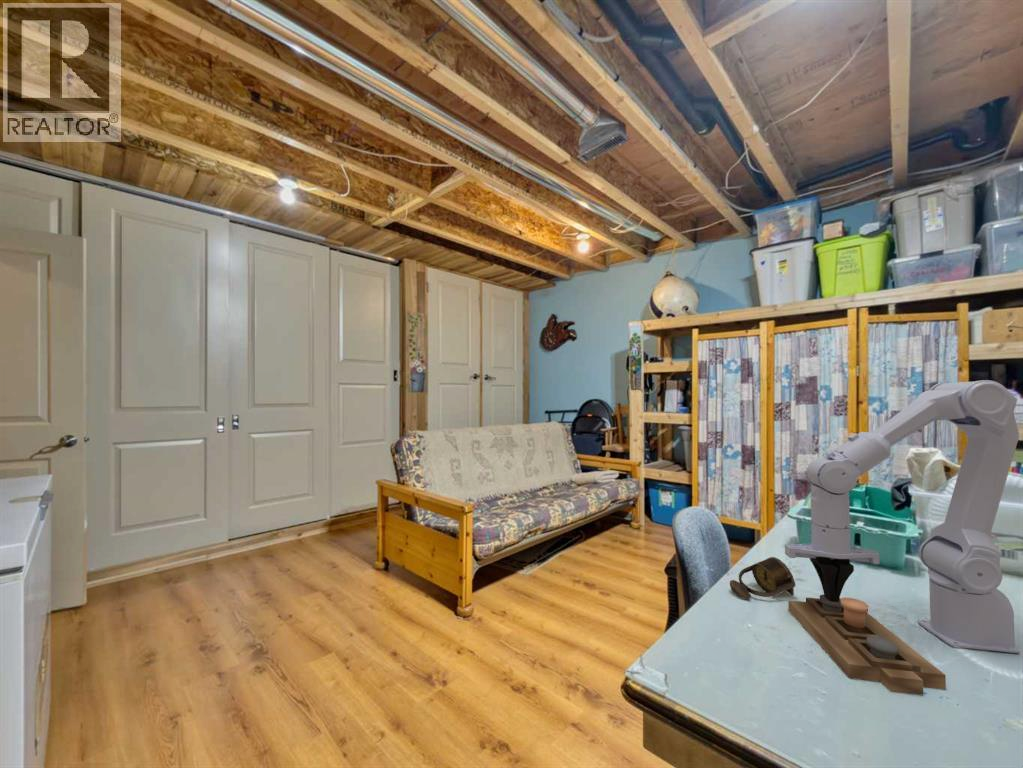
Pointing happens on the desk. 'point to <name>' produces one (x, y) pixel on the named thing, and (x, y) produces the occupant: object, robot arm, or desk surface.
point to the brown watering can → (766, 579)
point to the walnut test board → (866, 650)
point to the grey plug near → (882, 647)
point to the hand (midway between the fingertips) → (831, 599)
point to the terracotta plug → (854, 612)
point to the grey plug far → (830, 604)
